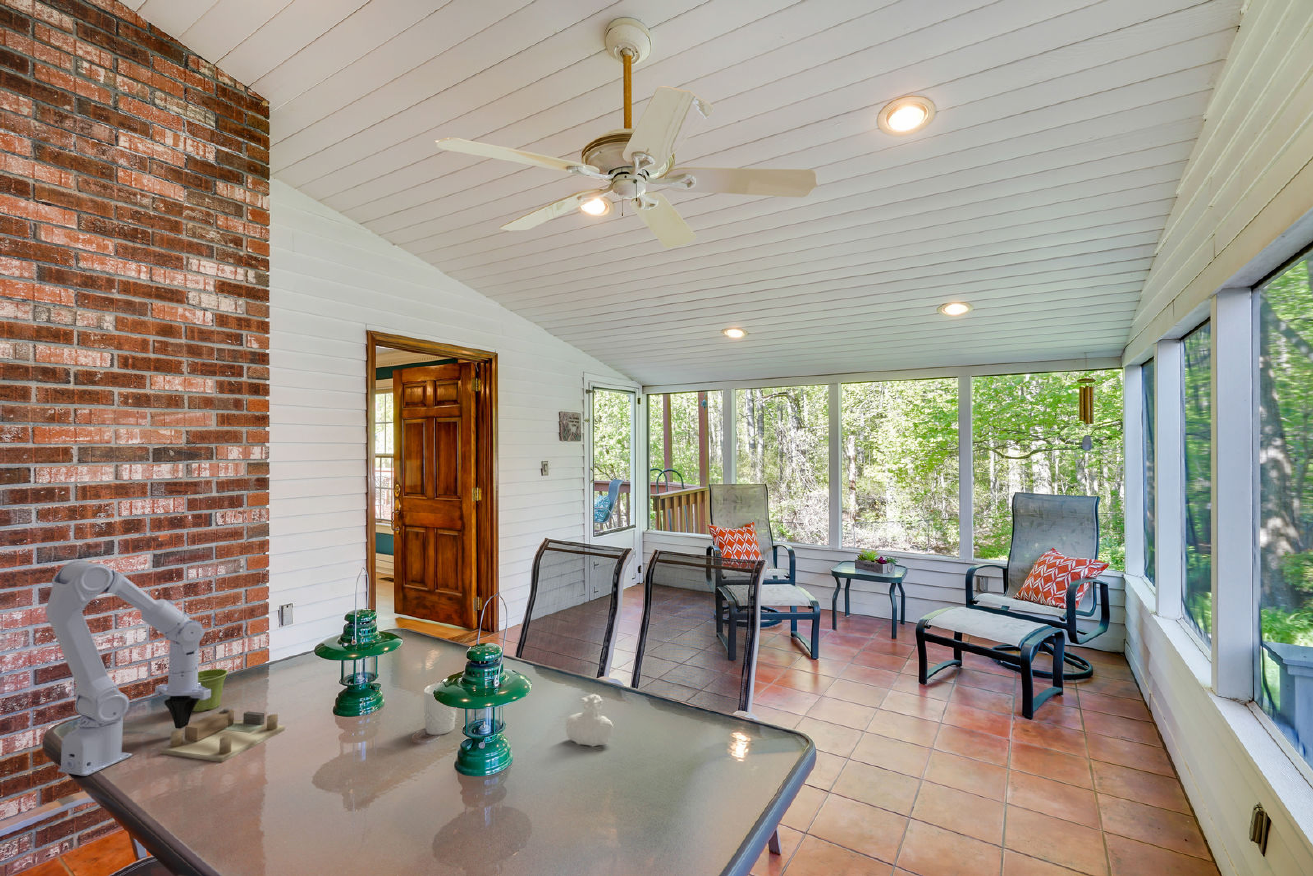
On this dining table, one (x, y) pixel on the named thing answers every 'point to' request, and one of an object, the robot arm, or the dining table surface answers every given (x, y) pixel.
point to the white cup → (437, 714)
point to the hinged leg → (209, 725)
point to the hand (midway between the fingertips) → (181, 727)
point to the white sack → (589, 724)
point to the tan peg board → (226, 739)
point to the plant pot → (214, 682)
